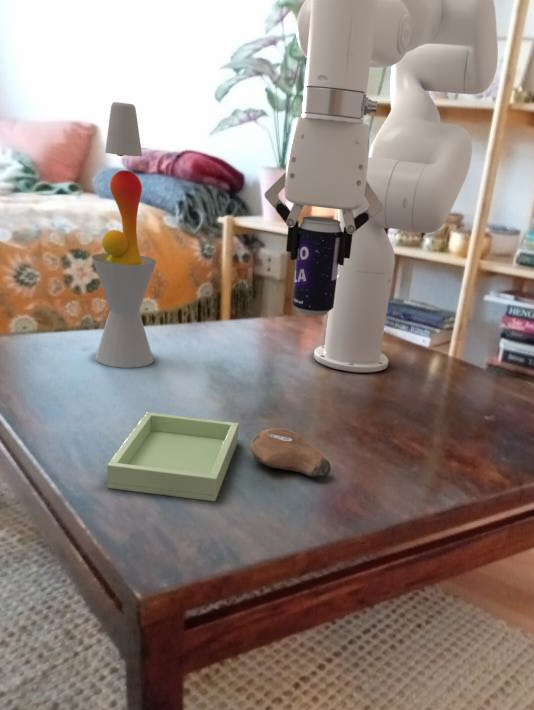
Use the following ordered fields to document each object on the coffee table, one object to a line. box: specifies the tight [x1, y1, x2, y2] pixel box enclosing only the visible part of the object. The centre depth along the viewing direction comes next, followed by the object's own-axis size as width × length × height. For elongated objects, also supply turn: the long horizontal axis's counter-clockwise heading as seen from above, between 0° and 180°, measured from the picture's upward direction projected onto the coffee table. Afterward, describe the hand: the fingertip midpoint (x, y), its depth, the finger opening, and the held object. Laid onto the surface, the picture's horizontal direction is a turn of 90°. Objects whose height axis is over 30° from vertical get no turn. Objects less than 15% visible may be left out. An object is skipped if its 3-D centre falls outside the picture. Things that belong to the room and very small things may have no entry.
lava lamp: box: [91, 101, 157, 369], centre depth 101 cm, size 9×9×35 cm
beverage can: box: [291, 216, 342, 317], centre depth 94 cm, size 6×6×12 cm
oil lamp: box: [249, 427, 332, 478], centre depth 79 cm, size 9×4×8 cm
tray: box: [106, 411, 239, 502], centre depth 77 cm, size 15×11×3 cm
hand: (317, 259), depth 93 cm, fingers closed on beverage can, 5 cm apart
